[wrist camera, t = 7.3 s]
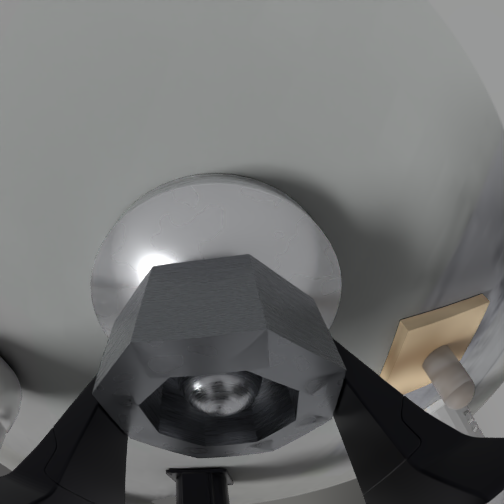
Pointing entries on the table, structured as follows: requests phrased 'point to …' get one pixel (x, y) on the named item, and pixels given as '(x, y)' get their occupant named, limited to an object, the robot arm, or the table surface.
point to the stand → (436, 351)
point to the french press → (455, 418)
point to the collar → (219, 358)
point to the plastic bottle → (8, 398)
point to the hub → (214, 246)
